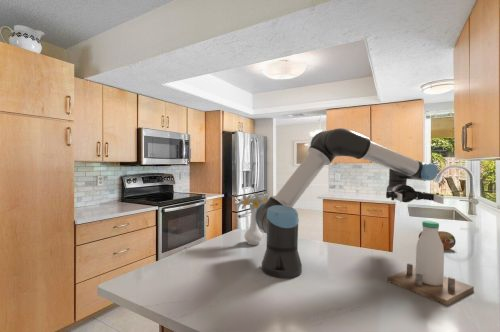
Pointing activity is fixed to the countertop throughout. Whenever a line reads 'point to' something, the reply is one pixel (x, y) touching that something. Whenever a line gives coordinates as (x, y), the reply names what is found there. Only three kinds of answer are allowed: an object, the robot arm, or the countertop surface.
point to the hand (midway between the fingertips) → (421, 198)
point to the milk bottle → (430, 255)
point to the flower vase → (253, 217)
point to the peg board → (431, 286)
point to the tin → (445, 239)
